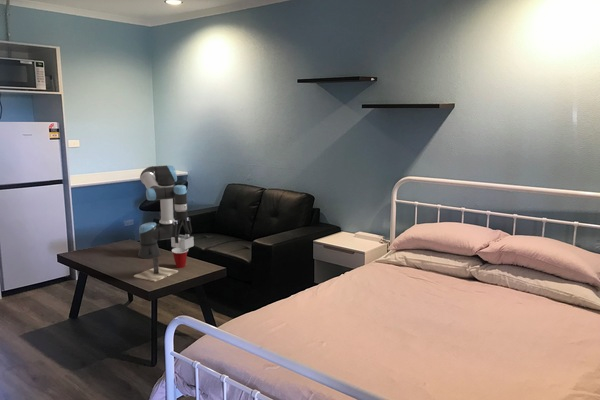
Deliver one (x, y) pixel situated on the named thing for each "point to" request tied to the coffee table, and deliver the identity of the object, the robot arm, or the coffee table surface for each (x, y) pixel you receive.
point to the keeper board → (156, 276)
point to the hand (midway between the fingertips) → (182, 246)
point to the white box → (183, 241)
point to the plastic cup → (180, 257)
